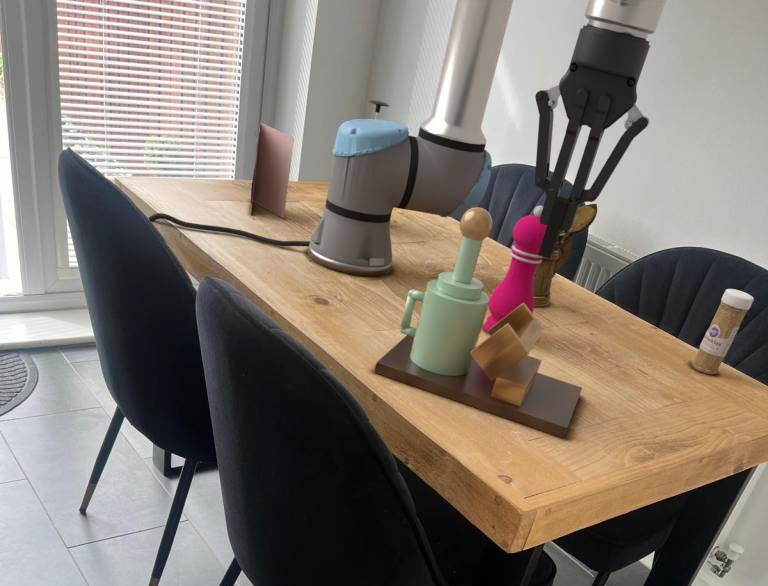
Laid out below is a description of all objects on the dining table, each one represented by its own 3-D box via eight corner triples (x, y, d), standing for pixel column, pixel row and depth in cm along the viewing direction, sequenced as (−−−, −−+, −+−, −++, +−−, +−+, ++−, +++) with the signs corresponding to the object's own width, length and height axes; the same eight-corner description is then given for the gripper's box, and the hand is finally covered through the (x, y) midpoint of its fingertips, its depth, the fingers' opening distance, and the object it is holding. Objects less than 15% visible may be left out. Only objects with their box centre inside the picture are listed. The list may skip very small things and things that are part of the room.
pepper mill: (527, 332, 126) (568, 208, 115) (520, 346, 120) (562, 216, 109) (486, 319, 127) (522, 195, 116) (477, 332, 121) (514, 202, 110)
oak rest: (460, 386, 99) (480, 316, 93) (480, 359, 108) (499, 294, 102) (519, 407, 97) (543, 337, 92) (535, 378, 106) (557, 313, 101)
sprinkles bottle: (686, 365, 129) (721, 288, 121) (697, 362, 132) (733, 286, 124) (710, 377, 126) (748, 299, 119) (721, 373, 129) (759, 297, 122)
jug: (411, 395, 103) (357, 254, 96) (429, 375, 110) (380, 242, 103) (527, 363, 95) (477, 207, 89) (538, 343, 102) (493, 197, 95)
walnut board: (374, 372, 100) (376, 362, 99) (409, 339, 112) (411, 330, 112) (563, 438, 96) (567, 428, 95) (578, 396, 108) (582, 387, 107)
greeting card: (248, 199, 159) (255, 121, 150) (283, 206, 160) (293, 129, 152) (246, 214, 149) (254, 131, 141) (283, 221, 151) (294, 139, 143)
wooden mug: (576, 309, 142) (612, 211, 132) (516, 305, 137) (548, 202, 127) (551, 291, 149) (583, 196, 139) (493, 287, 143) (522, 187, 133)
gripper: (551, 13, 78) (488, 244, 91) (677, 44, 75) (593, 277, 88) (563, 17, 84) (501, 234, 97) (679, 46, 81) (600, 264, 94)
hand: (545, 254), depth 92 cm, fingers closed
